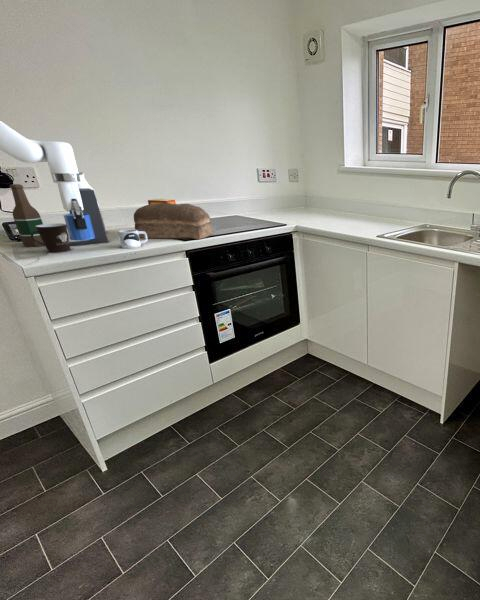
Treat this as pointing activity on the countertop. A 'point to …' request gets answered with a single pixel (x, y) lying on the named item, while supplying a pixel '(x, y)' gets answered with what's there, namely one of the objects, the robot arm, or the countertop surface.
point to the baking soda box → (161, 201)
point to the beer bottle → (25, 217)
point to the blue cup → (79, 234)
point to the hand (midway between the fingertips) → (79, 227)
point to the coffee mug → (53, 237)
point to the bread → (172, 221)
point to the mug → (131, 238)
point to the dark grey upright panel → (91, 218)
